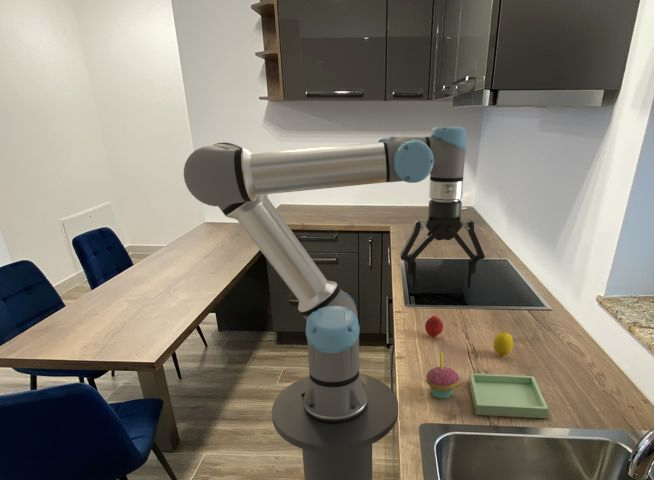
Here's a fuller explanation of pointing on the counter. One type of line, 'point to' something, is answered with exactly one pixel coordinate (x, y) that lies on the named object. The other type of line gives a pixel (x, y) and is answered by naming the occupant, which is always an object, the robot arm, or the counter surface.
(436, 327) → the red textured round piece
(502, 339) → the lemon
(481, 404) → the tray
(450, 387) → the cupcake
